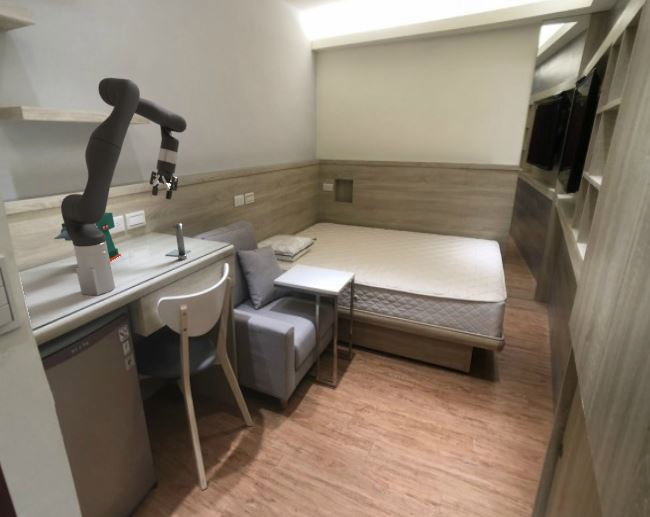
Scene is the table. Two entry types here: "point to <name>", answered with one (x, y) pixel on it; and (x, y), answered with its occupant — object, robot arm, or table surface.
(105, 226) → the power tool
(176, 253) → the rest mat
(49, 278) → the table surface
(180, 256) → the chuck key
